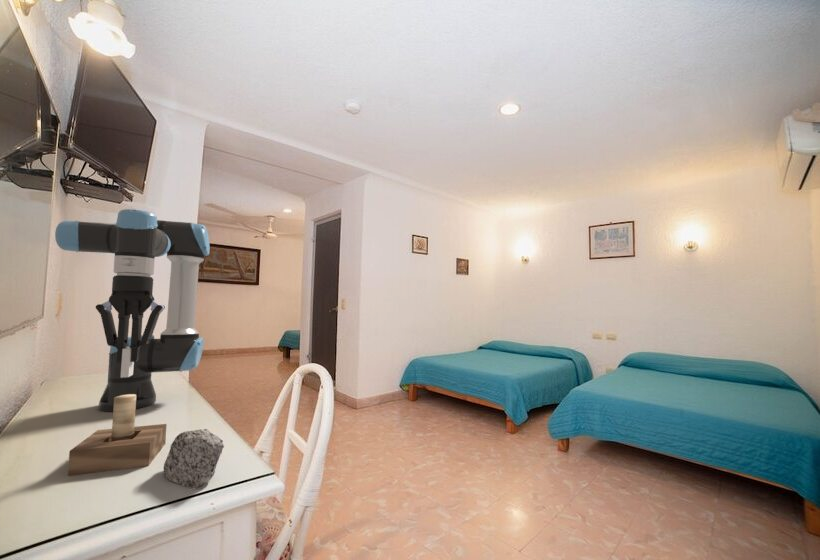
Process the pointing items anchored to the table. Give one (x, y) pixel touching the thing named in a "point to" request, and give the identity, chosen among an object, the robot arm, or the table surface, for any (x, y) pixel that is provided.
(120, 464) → the board
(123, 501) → the table surface
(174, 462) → the rock
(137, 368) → the robot arm
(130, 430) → the peg
